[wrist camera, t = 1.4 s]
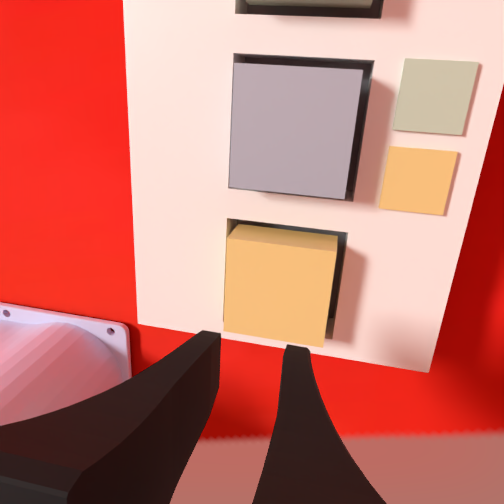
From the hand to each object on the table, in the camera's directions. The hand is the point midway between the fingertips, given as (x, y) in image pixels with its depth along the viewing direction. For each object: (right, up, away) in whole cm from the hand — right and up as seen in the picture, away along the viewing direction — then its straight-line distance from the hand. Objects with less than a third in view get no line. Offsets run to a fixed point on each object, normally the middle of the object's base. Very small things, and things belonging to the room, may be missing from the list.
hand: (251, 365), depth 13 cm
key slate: (+2, +9, +4) cm, 10 cm away
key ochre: (+1, +2, +6) cm, 7 cm away
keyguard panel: (+2, +9, +6) cm, 11 cm away
